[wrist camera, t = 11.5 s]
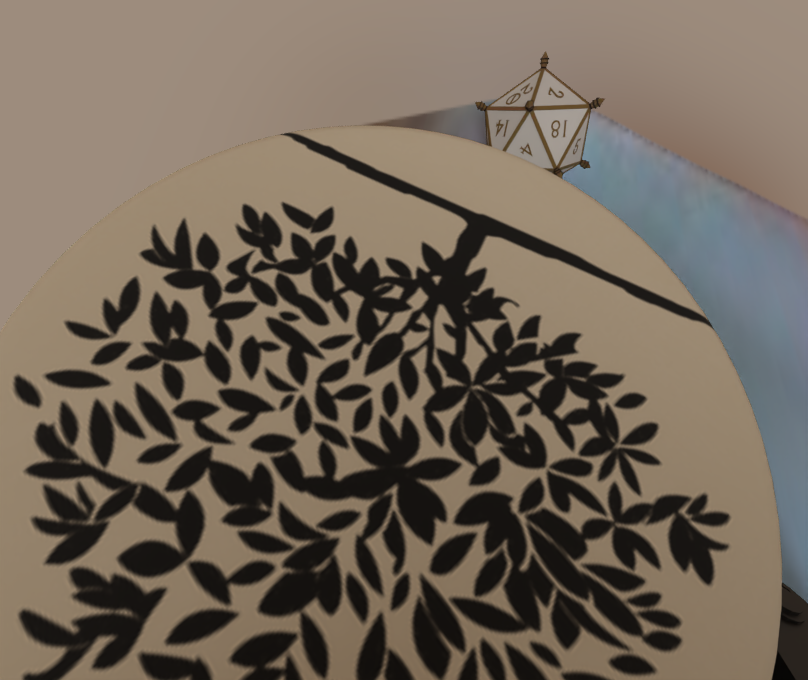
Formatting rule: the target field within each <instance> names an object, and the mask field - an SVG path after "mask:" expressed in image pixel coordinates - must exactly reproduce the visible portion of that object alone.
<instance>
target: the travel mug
mask: <svg viewBox="0 0 808 680" xmlns="http://www.w3.org/2000/svg"><path fill="white" fill-rule="evenodd" d="M781 604H782V556H781V543H780V530H779V518H778V512H777V506H776V500H775V493H774V487H773V481H772V476H771V472H770V468H769V464H768V460H767V456H766V452H765V448H764V444H763V440H762V437H761V434H760V431H759V428H758V425H757V422H756V419H755V416H754V413H753V410H752V407H751V404H750V402H749V399H748V397H747V395H746V392H745V390H744V387H743V385H742V383H741V380H740V378H739V376H738V373H737V371H736V369H735V367H734V365H733V363H732V361H731V359H730V357H729V355H728V353H727V352H726V350H725V348H724V346H723V344H722V342H721V340H720V338H719V337H718V335H717V333H716V332H715V330H714V329H713V327H712V325H711V324H710V322H709V320H708V319H707V317H706V316H705V314H704V312H703V311H702V309H701V308H700V307H699V305H698V304H697V302H696V301H695V300H694V298H693V297H692V296H691V294H690V293H689V291H688V290H687V289H686V287H685V286H684V285H683V283H682V282H681V281H680V280H679V279H678V277H677V276H676V275H675V274H674V273H673V271H672V270H671V269H670V268H669V267H668V265H667V264H666V263H665V262H664V261H663V260H662V259H661V258H660V257H659V256H658V255H657V253H656V252H655V251H654V250H653V249H652V248H651V247H650V246H649V245H648V244H647V243H646V242H645V241H644V240H643V239H642V238H641V237H640V236H639V235H637V234H636V233H635V232H634V231H633V230H632V229H631V228H630V227H628V226H627V225H626V224H625V223H624V222H623V221H622V220H621V219H619V218H618V217H617V216H616V215H614V214H613V213H612V212H610V211H609V210H608V209H607V208H605V207H604V206H603V205H601V204H600V203H599V202H597V201H596V200H595V199H593V198H592V197H590V196H589V195H587V194H586V193H584V192H583V191H581V190H580V189H578V188H577V187H575V186H574V185H572V184H570V183H569V182H567V181H565V180H563V179H562V178H560V177H558V176H556V175H554V174H553V173H551V172H549V171H547V170H545V169H543V168H541V167H539V166H537V165H535V164H533V163H531V162H528V161H526V160H524V159H522V158H520V157H517V156H515V155H512V154H510V153H507V152H505V151H502V150H499V149H497V148H494V147H491V146H488V145H485V144H481V143H478V142H475V141H472V140H468V139H464V138H460V137H456V136H452V135H447V134H443V133H438V132H432V131H426V130H419V129H413V128H402V127H391V126H340V127H339V126H338V127H324V128H316V129H309V130H301V131H295V132H290V133H285V134H281V135H275V136H271V137H266V138H263V139H259V140H256V141H252V142H249V143H245V144H242V145H238V146H235V147H233V148H230V149H227V150H224V151H222V152H219V153H216V154H214V155H211V156H208V157H206V158H204V159H202V160H199V161H197V162H195V163H193V164H191V165H188V166H186V167H184V168H182V169H180V170H178V171H176V172H174V173H173V174H170V175H169V176H167V177H165V178H164V179H161V180H160V181H158V182H156V183H154V184H152V185H151V186H149V187H147V188H146V189H144V190H143V191H141V192H140V193H138V194H137V195H135V196H134V197H132V198H131V199H129V200H128V201H126V202H125V203H123V204H122V205H120V206H119V207H117V208H116V209H115V210H113V211H112V212H111V213H110V214H108V215H107V216H106V217H105V218H103V219H102V220H101V221H99V222H98V223H97V224H95V225H94V226H93V227H92V228H90V229H89V230H88V231H87V232H86V233H85V234H84V235H83V236H82V237H81V238H80V239H78V240H77V241H76V242H75V243H74V244H73V245H72V246H71V247H70V248H69V249H68V250H67V251H65V252H64V253H63V254H62V255H61V257H60V258H59V259H58V260H57V261H56V262H55V263H54V264H53V265H52V266H51V267H50V268H49V270H47V272H46V273H45V274H44V275H43V276H42V277H41V278H40V279H39V280H38V281H37V283H36V284H35V285H34V286H33V288H32V289H31V290H30V291H29V293H28V294H27V295H26V297H25V298H24V299H23V300H22V302H21V303H20V304H19V306H18V307H17V308H16V309H15V311H14V312H13V313H12V315H11V316H10V318H9V319H8V321H7V322H6V324H5V325H4V327H3V328H2V330H1V332H0V680H772V675H773V670H774V665H775V660H776V655H777V646H778V637H779V627H780V617H781Z"/></svg>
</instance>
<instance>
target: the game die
mask: <svg viewBox="0 0 808 680" xmlns="http://www.w3.org/2000/svg"><path fill="white" fill-rule="evenodd" d="M548 59H549V58H548V56H547V53H546V52H545V53H544V55H543V57H542V58H541V63H540V64H541V69H539V70H538V71H537V72H535V73H534V74H533V75H531V76H530V77H529V78H527V79H525V80H524V81H523V82H521V83H520V84H518V85H517V86H516V87H514V88H513V89H511V90H510V91H509V92H507V93H506V94H504V95H503V96H502V97H500V98H499V99H497V100H496V101H494V102H493V103H492V104H490V105H489V106H486V105H485V103H482V101H481V102H475V103H476V106H477V108H478V109H480V111H481V110H482V111H485V121H486V138H487V145H488V146H491V147H494V148H497V149H499V150H502V151H505V152H507V153H510V154H512V155H515V156H517V157H520V158H522V159H524V160H526V161H528V162H531V163H533V164H535V165H537V166H539V167H541V168H543V169H545V170H547V171H549V172H551V173H553V174H554V175H556V176H558V177H560V178H562V175H563V174H564V173H565V172H567V171H568V170H570V169H572V168H573V167H575V166H577V165H579V164H580V165H581V167H583V168H584V169H585V168H590V165H589V161H588V162H587V161H586V160H582V155H583V150H584V145H585V139H586V134H587V128H588V123H589V118H590V112H591V109H592V108H595V109H596V107H598V106H599V107H600V105H601V103H602V102H603V100H604V99H599V98H596V100H593V102H592V103H590V104H589V102H587V101H586V100H585V99H583V98H582V97H581V96H580V95H579V94H577V93H576V92H575V91H573V90H572V89H571V88H570V87H569V86H567V85H566V84H565V83H564V82H562V81H561V80H560V79H559V78H557V77H556V76H555V75H554V74H552V73H551V72H550V71H549V70H548V69H546V66H547V64H548Z"/></svg>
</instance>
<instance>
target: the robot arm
mask: <svg viewBox="0 0 808 680" xmlns="http://www.w3.org/2000/svg"><path fill="white" fill-rule="evenodd" d="M772 680H808V604H807V603H806V601H805V600H803V599H802V598H801V597H800V596H799V595H797V594H796V593H795V592H794V591H793V590H792V589H790V588H789V587H788V586H786V585H785V584H783V583H782V604H781V617H780V627H779V637H778V646H777V655H776V660H775V665H774V670H773V675H772Z"/></svg>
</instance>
